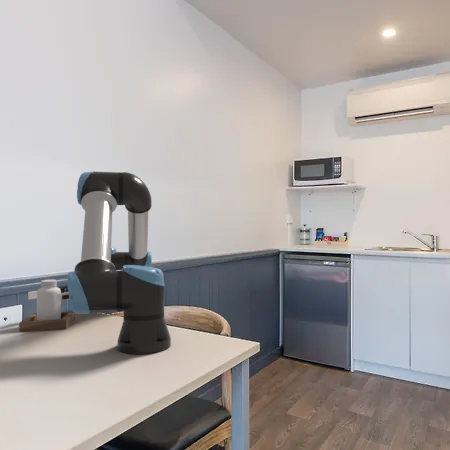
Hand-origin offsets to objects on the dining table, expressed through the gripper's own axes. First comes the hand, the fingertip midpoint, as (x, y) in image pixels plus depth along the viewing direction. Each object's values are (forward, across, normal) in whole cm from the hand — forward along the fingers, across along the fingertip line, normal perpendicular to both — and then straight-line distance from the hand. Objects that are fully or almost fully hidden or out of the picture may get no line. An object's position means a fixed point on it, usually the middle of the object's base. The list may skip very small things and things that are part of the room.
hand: (40, 297), depth 142 cm
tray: (-3, 0, -10) cm, 11 cm away
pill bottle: (-3, 0, -10) cm, 10 cm away
